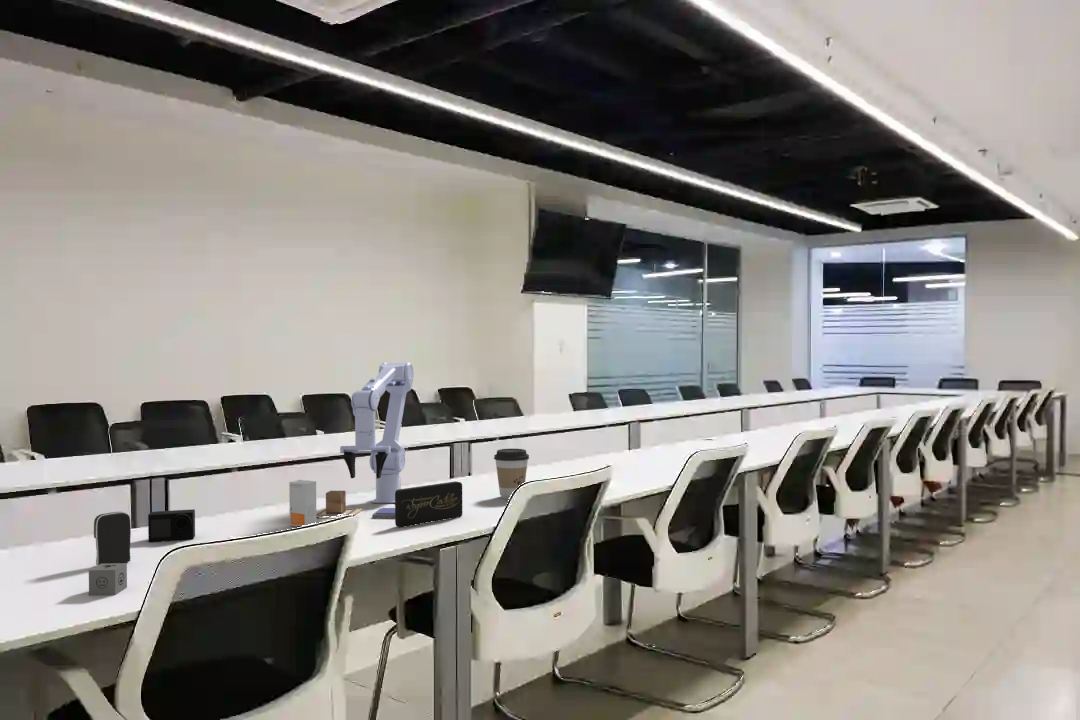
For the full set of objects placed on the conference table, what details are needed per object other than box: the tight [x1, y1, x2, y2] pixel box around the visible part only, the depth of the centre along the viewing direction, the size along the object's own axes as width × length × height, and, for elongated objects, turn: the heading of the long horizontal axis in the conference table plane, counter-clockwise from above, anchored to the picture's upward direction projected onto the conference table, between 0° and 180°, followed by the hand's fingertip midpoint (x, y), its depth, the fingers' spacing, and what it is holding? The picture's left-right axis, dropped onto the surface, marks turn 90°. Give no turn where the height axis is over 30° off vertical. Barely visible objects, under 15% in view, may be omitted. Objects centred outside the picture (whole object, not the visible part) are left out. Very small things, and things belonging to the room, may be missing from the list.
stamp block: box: [325, 490, 347, 514], centre depth 236 cm, size 4×4×6 cm
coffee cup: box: [493, 448, 530, 500], centre depth 261 cm, size 11×11×15 cm
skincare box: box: [288, 479, 317, 528], centre depth 220 cm, size 6×4×12 cm
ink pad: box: [371, 507, 395, 519], centre depth 234 cm, size 9×9×1 cm
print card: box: [316, 507, 363, 517], centre depth 236 cm, size 12×12×1 cm
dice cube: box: [88, 562, 128, 597], centre depth 162 cm, size 5×5×5 cm
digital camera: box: [147, 508, 196, 543], centre depth 205 cm, size 10×5×7 cm, turn 107°
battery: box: [93, 511, 132, 566], centre depth 182 cm, size 7×4×11 cm, turn 137°
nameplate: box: [394, 481, 463, 528], centre depth 225 cm, size 21×2×10 cm, turn 132°
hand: (365, 477), depth 239 cm, fingers open, 7 cm apart
